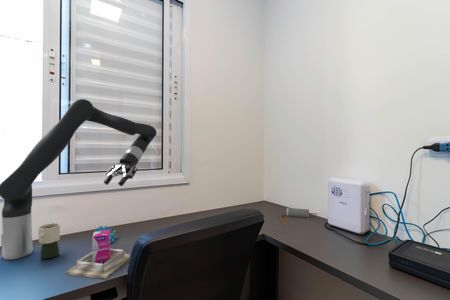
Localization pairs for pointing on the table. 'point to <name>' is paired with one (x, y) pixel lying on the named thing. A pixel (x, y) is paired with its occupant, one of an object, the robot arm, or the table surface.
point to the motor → (297, 213)
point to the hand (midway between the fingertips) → (112, 184)
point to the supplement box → (101, 246)
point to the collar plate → (99, 265)
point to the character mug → (49, 239)
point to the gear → (110, 233)
